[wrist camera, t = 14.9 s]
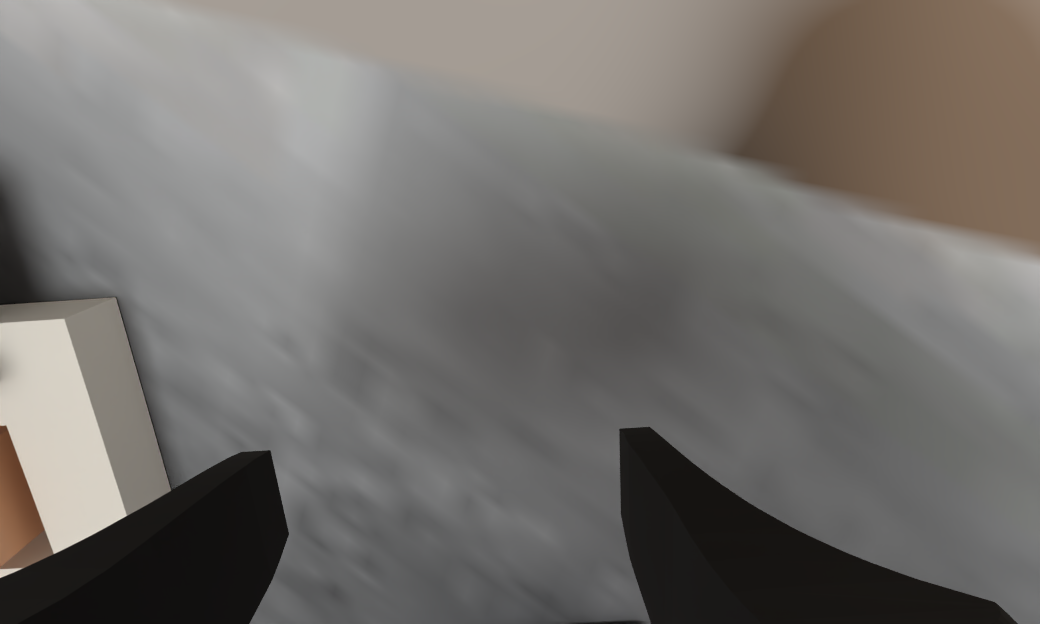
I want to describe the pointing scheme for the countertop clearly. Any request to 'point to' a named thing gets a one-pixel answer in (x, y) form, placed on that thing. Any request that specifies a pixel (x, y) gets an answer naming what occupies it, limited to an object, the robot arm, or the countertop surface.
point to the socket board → (75, 420)
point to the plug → (15, 503)
